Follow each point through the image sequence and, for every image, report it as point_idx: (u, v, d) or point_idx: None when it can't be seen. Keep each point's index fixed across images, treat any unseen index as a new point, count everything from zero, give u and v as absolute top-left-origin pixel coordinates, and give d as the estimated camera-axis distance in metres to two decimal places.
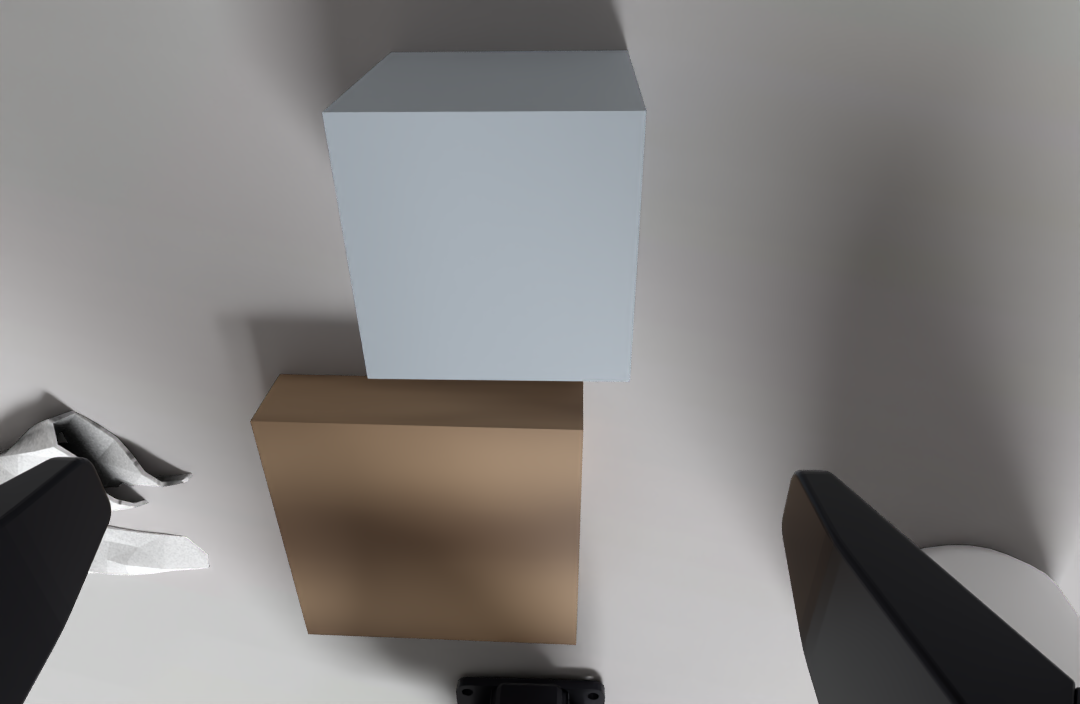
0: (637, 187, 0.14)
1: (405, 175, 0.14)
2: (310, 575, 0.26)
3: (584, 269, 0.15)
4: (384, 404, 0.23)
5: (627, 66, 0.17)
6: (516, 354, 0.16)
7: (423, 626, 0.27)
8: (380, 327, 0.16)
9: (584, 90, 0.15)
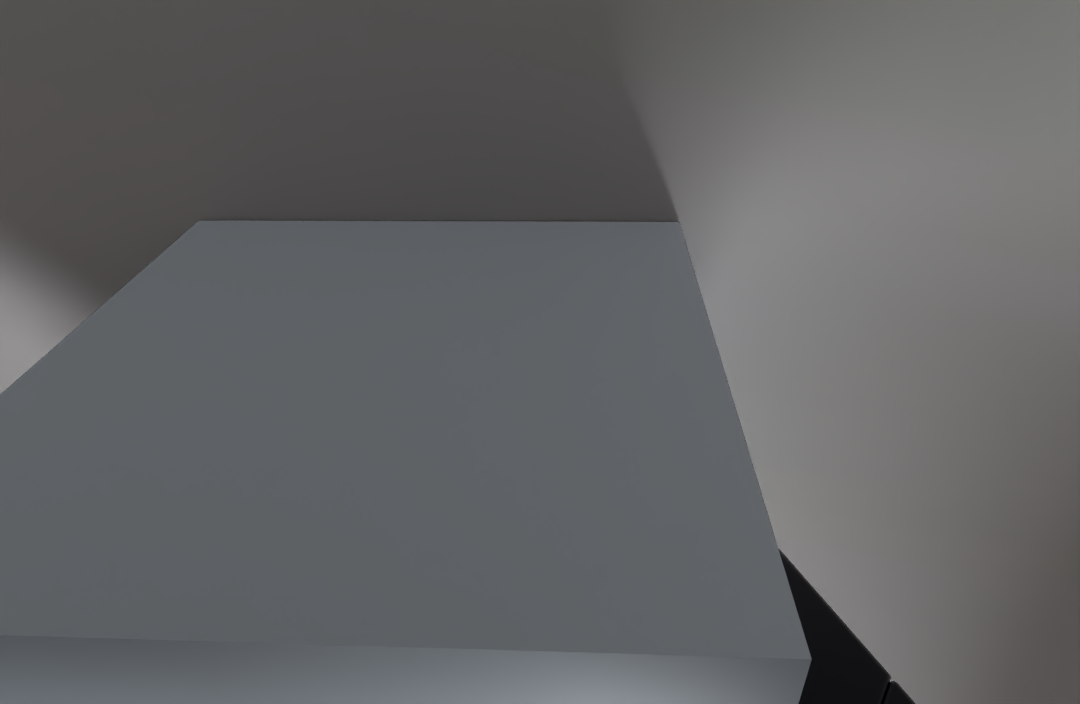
0: None
1: None
2: None
3: None
4: None
5: (691, 302, 0.07)
6: None
7: None
8: None
9: (592, 454, 0.05)
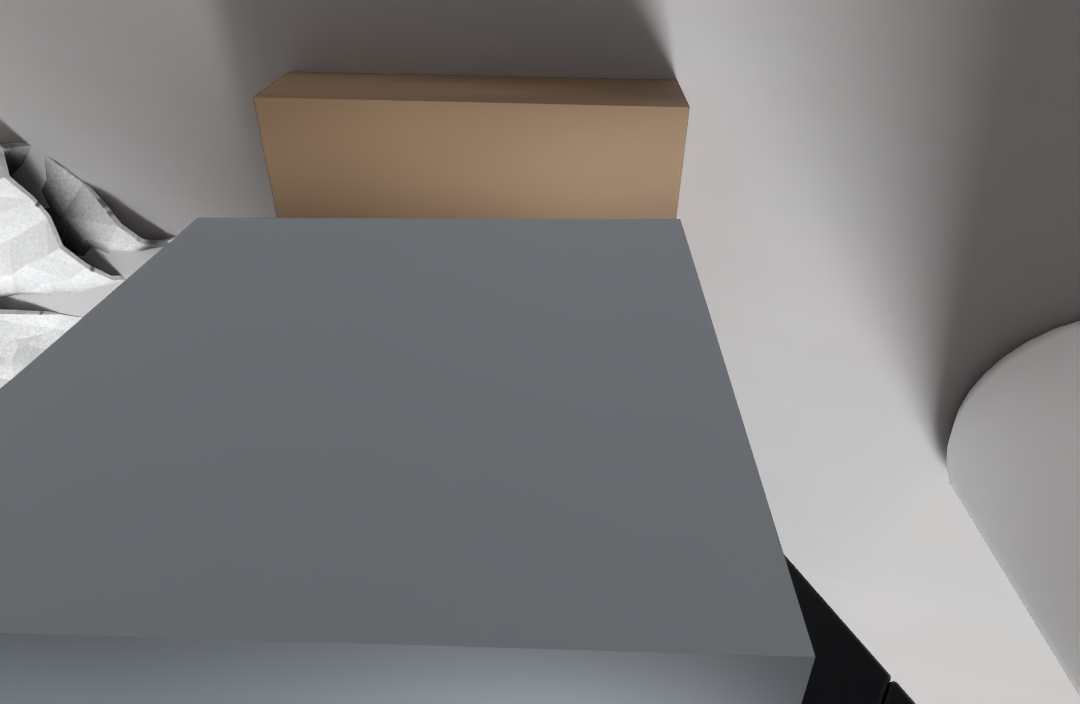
0: None
1: None
2: None
3: None
4: (425, 89, 0.18)
5: (692, 299, 0.07)
6: None
7: None
8: None
9: (592, 450, 0.05)
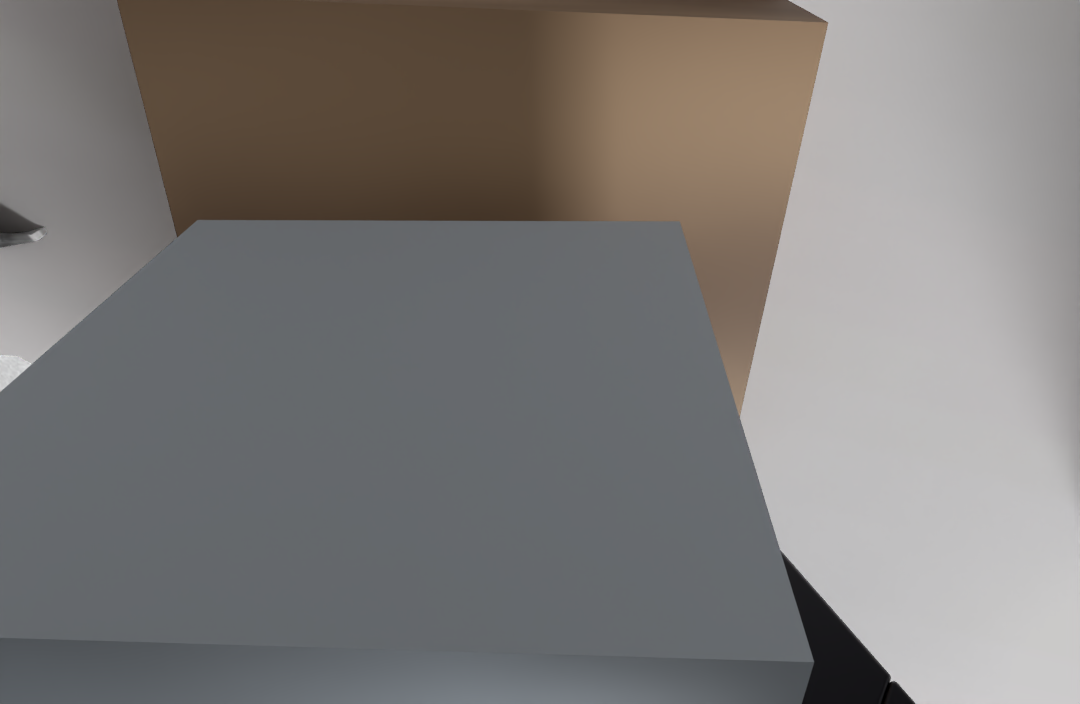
0: None
1: None
2: None
3: None
4: None
5: (692, 302, 0.07)
6: None
7: None
8: None
9: (592, 455, 0.05)
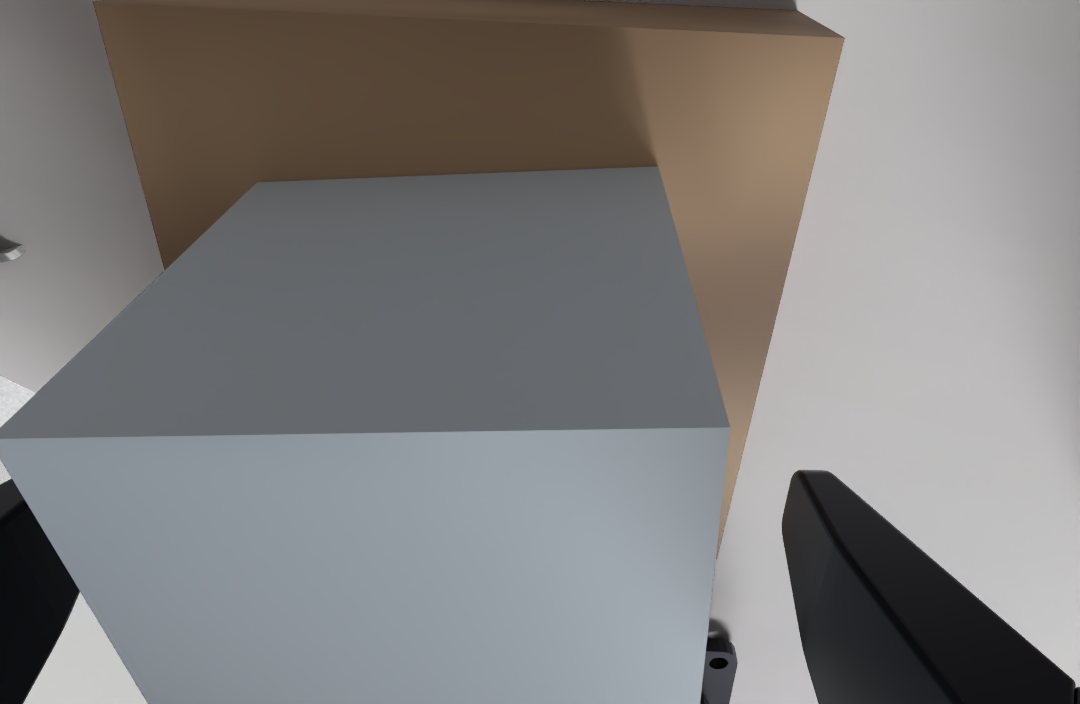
0: (706, 556, 0.06)
1: (203, 540, 0.07)
2: None
3: (595, 675, 0.07)
4: (394, 4, 0.11)
5: (664, 222, 0.09)
6: None
7: None
8: None
9: (581, 321, 0.07)
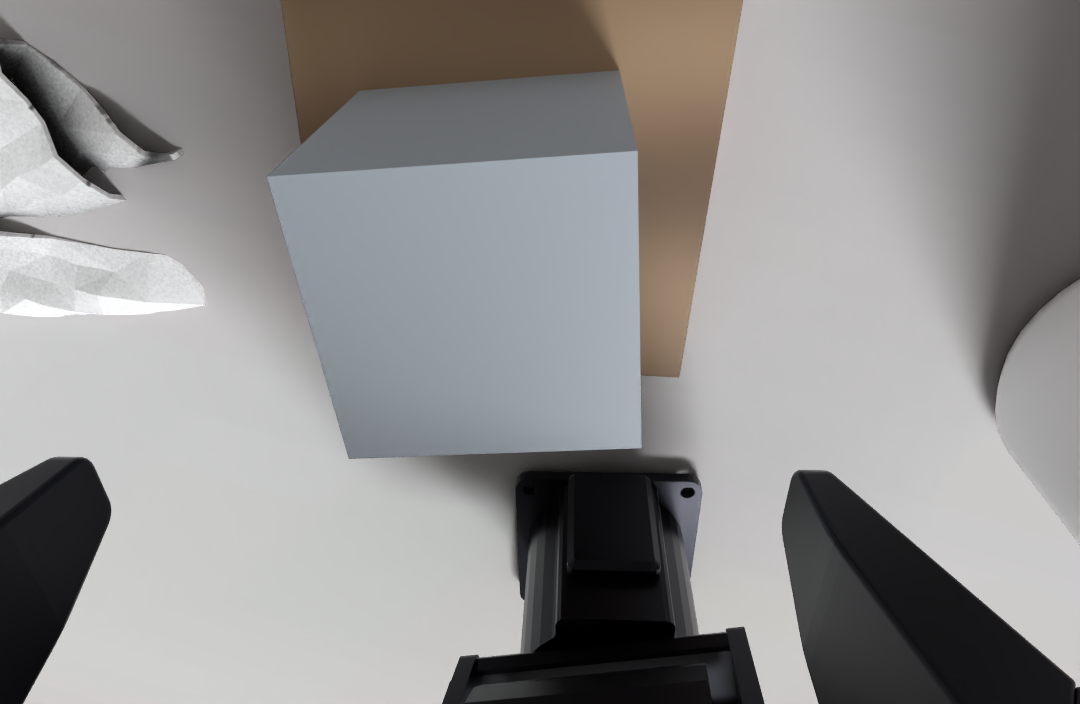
0: (633, 237, 0.12)
1: (368, 240, 0.12)
2: None
3: (579, 329, 0.13)
4: None
5: (618, 91, 0.15)
6: (511, 425, 0.14)
7: None
8: (357, 404, 0.14)
9: (566, 127, 0.13)
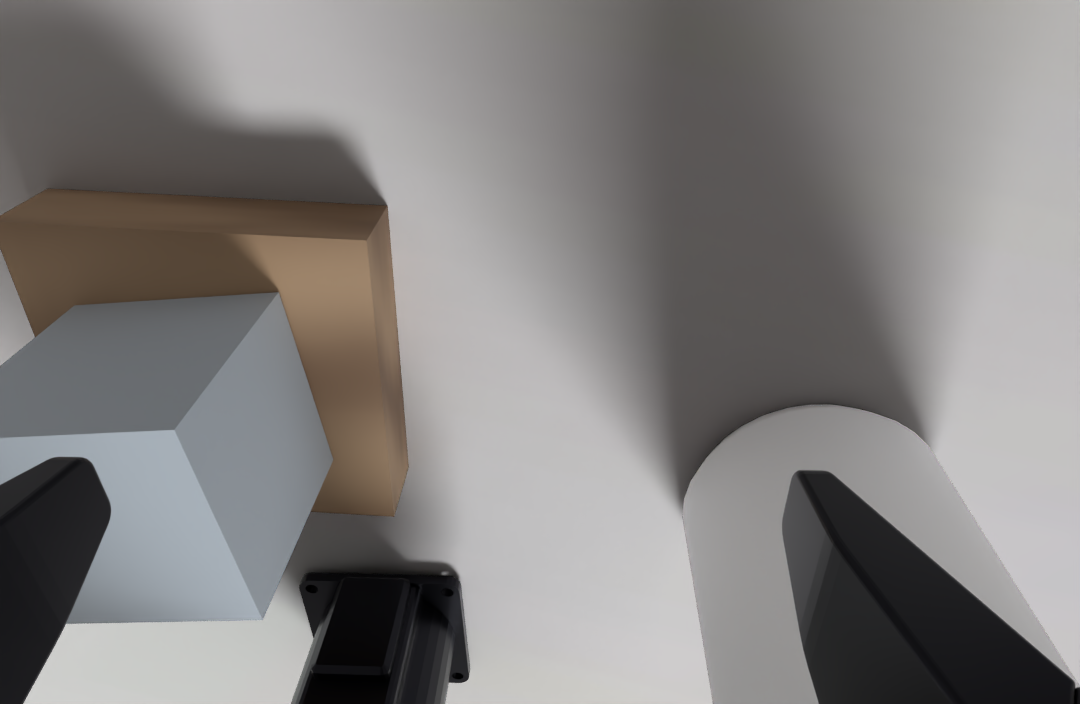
0: (195, 482, 0.16)
1: None
2: None
3: (180, 541, 0.17)
4: (151, 214, 0.20)
5: (244, 331, 0.18)
6: (155, 603, 0.18)
7: None
8: None
9: (161, 386, 0.16)
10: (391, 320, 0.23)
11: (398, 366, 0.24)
